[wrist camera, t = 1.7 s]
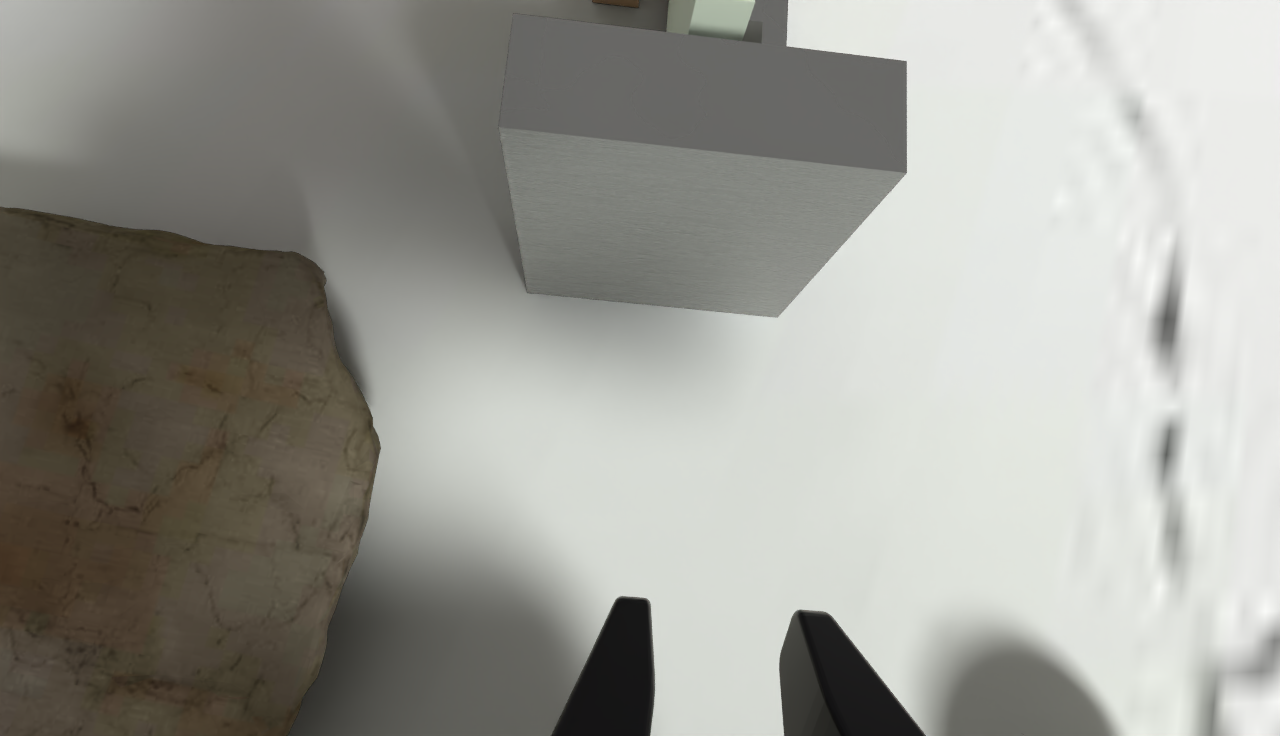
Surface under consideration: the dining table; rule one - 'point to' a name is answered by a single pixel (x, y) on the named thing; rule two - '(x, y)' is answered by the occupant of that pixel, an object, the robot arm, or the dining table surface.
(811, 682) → the robot arm
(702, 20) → the pale green slab
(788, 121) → the gray bookend
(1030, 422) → the dining table surface
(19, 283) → the marble piece
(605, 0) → the post
